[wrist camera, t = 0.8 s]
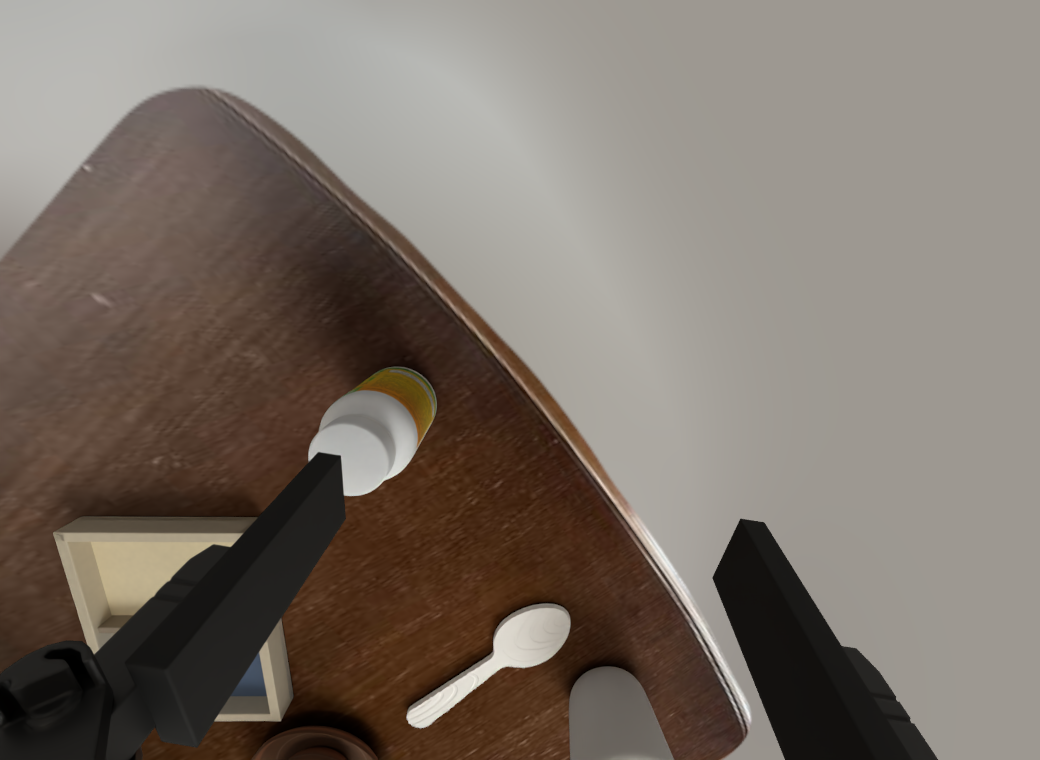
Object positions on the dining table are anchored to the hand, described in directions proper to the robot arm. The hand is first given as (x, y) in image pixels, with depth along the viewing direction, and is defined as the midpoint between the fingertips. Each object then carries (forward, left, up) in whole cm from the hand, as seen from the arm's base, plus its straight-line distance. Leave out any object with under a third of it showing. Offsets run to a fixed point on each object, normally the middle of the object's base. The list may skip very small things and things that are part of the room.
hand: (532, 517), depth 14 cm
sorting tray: (+20, -27, -16) cm, 37 cm away
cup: (+29, +8, -16) cm, 35 cm away
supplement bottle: (+1, -9, -16) cm, 19 cm away
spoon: (+25, -3, -16) cm, 30 cm away
